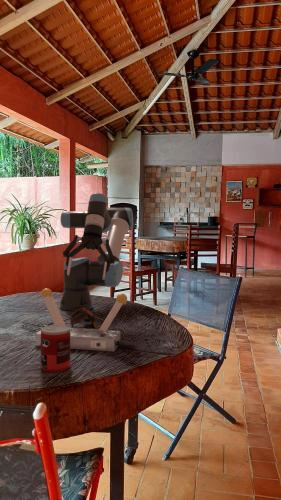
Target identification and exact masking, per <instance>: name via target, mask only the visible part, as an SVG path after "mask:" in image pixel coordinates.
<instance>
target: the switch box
mask: <svg viewBox="0 0 281 500" xmlns="http://www.w3.org/2000/svg"><path fill="white" fill-rule="evenodd" d="M35 346H36V347H41V330H39V331H37V332H36V333H35ZM118 347H128V348H136V347H137V342H136V341H124V340H121V330H113V329H112V330H111V329H107V331H106V332H105V333H104V334H102V335H99V329H98V328H97V329H96V328H83V327H82V328H81V327H80V328H78V327H70V349H71V350H72V349H74V350H89V351H98V352H99V351H100V352H101V351H102V352H112V353H113V352H115V351H116V350H117V349H118Z"/></svg>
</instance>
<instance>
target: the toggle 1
mask: <svg viewBox="0 0 281 500" xmlns="http://www.w3.org/2000/svg"><path fill="white" fill-rule="evenodd" d="M40 297H41V298H42V299H43V302H44V304H45V306H46V308H47V310H48V314H49V315H50V317H51V319H52V322H53V325H65V326H67V325H66V323H65V320H64V319H63V316H62V314H61V311H60V310H59V307H58V305H57V302H56V300H55V298H54V296H53V291H52V290H51V289H50V288H46V287H45V288H44V289H42V290H41V291H40Z"/></svg>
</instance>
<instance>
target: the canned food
mask: <svg viewBox="0 0 281 500" xmlns="http://www.w3.org/2000/svg"><path fill="white" fill-rule="evenodd" d="M65 325H66V324H65ZM65 325H55V324H52V325H45V326H43V327H41V329H40V331H41V346H40V366H41V369H42V371H44V372H47V373H60V372H64V371H66V370H68V369H69V368H70V366H71V348H70V328H71V327H70V326H68V325H66V326H65Z"/></svg>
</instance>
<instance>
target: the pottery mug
mask: <svg viewBox="0 0 281 500" xmlns="http://www.w3.org/2000/svg"><path fill="white" fill-rule="evenodd" d="M68 319H69V320H70V323H69V325H70V326H71V327H74V326H75V325H77V324H81V325H82V319H83V320H84V322H85V323H91V325H92V326H93V329H96V328H97V326H98V325H97V320H96V317H95V316H94V314H93V312H92V310H91V309H88V308H87V309H86V308H81V309H78V310H77V311H73V313H72V314H71V315H70V316H69V318H68Z"/></svg>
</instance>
